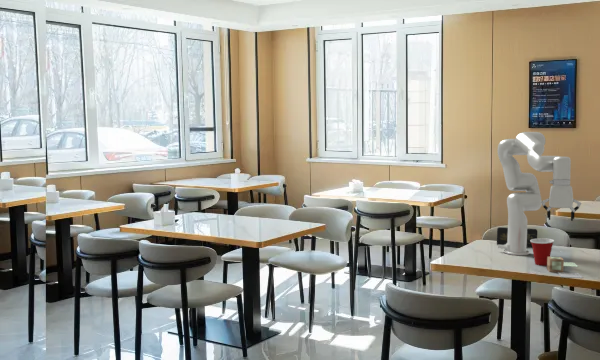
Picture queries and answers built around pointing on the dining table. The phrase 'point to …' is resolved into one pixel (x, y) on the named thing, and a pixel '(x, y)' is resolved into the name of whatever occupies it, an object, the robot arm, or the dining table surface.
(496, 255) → the dining table surface
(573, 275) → the grey pad
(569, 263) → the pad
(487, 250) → the dining table surface
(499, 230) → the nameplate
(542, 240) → the plastic cup
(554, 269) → the letter block
